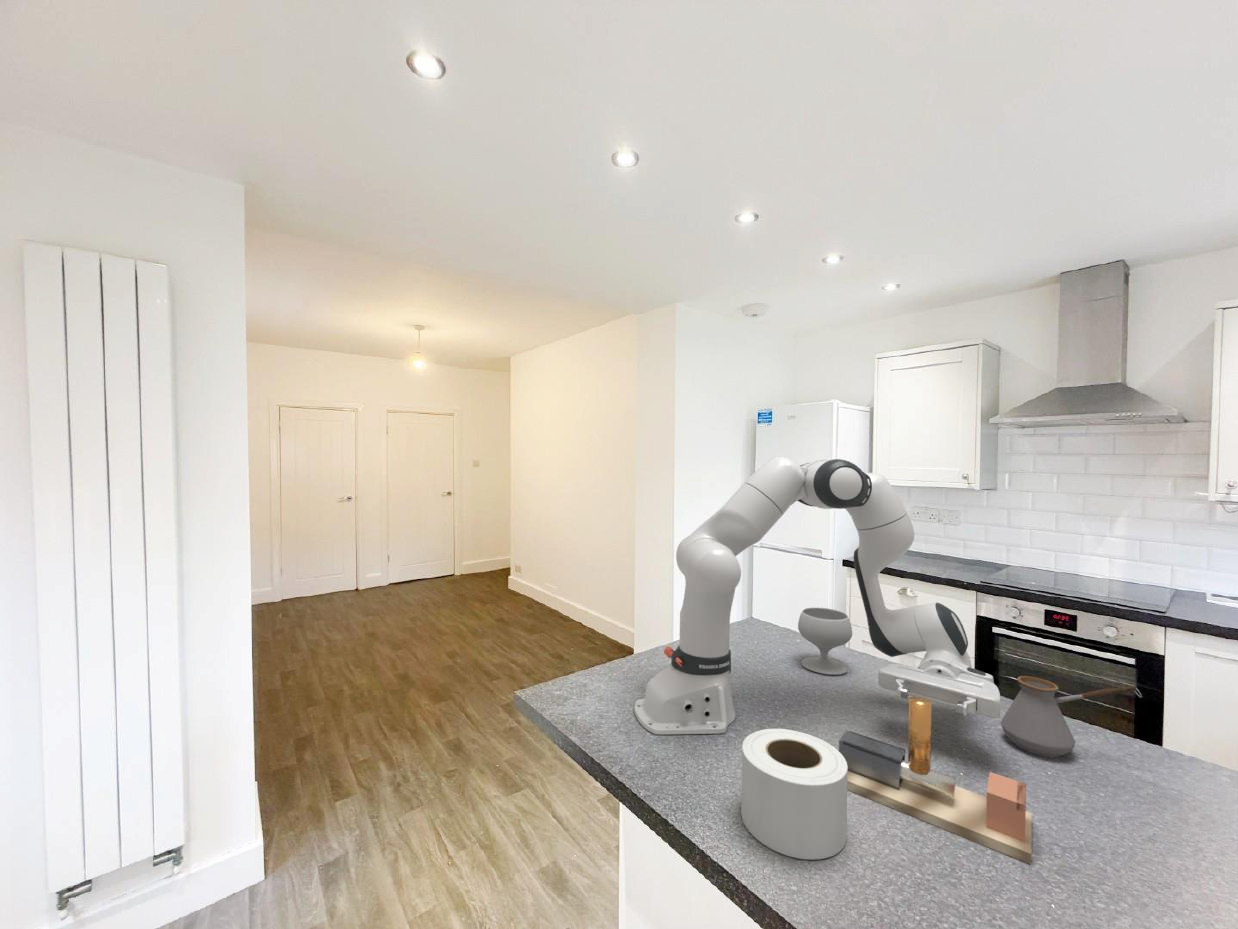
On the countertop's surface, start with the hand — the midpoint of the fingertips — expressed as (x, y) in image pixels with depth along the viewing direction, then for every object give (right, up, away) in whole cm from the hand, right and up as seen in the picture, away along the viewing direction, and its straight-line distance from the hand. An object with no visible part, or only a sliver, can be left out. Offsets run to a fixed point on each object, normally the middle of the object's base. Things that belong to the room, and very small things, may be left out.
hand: (930, 702), depth 92 cm
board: (-7, -12, -10) cm, 17 cm away
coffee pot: (+31, -13, +6) cm, 34 cm away
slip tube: (-10, -9, -7) cm, 16 cm away
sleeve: (-13, -10, -5) cm, 17 cm away
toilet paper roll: (-31, -12, -15) cm, 36 cm away
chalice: (-1, -13, +46) cm, 48 cm away
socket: (+1, -10, -17) cm, 20 cm away
